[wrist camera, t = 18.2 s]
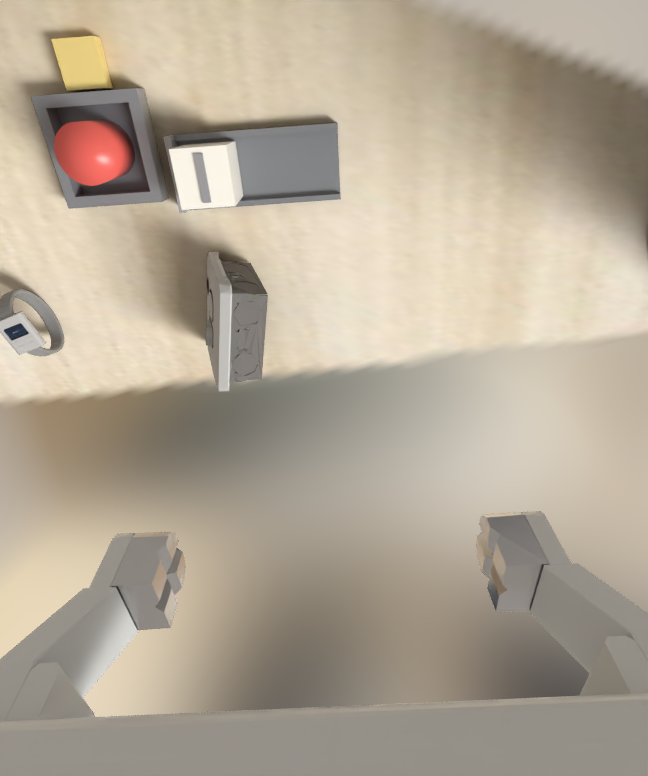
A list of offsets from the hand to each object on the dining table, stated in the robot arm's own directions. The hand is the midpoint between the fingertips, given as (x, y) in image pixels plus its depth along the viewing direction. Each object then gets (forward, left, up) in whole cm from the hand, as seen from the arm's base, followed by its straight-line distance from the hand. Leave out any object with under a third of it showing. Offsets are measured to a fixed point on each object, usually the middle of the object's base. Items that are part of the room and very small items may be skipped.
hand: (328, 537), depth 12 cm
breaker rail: (+4, -6, -33) cm, 33 cm away
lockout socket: (+16, -10, -33) cm, 38 cm away
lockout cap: (+16, -8, -32) cm, 37 cm away
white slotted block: (+8, -6, -33) cm, 34 cm away
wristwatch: (+26, +5, -33) cm, 42 cm away
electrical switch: (+8, +5, -33) cm, 34 cm away
